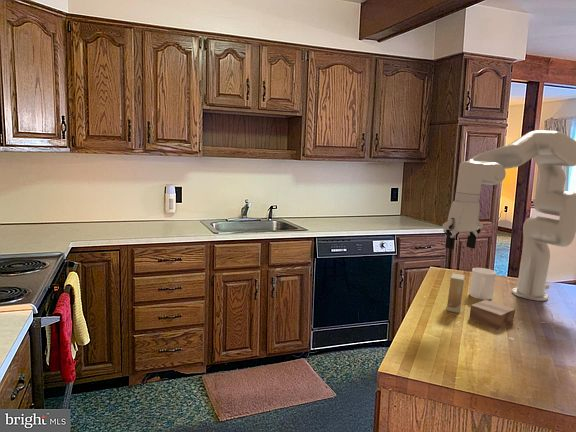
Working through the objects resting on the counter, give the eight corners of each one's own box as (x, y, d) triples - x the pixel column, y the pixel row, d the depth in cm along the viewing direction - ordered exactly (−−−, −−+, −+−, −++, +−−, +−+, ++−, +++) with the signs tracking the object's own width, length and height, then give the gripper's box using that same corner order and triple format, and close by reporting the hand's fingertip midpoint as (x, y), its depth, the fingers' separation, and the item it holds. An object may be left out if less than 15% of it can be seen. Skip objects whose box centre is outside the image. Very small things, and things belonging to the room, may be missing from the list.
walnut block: (483, 313, 154) (485, 299, 153) (513, 323, 146) (515, 309, 145) (469, 319, 148) (471, 305, 147) (498, 330, 140) (500, 315, 139)
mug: (492, 305, 161) (496, 278, 160) (468, 300, 165) (471, 274, 163) (492, 295, 172) (495, 270, 170) (469, 291, 176) (472, 266, 174)
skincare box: (448, 305, 159) (452, 272, 157) (460, 307, 157) (465, 274, 155) (446, 310, 153) (450, 277, 151) (459, 313, 151) (463, 279, 149)
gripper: (477, 197, 154) (470, 244, 157) (439, 196, 147) (432, 246, 150) (494, 200, 148) (487, 250, 150) (455, 199, 140) (448, 251, 143)
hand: (459, 248), depth 150 cm, fingers open, 9 cm apart
